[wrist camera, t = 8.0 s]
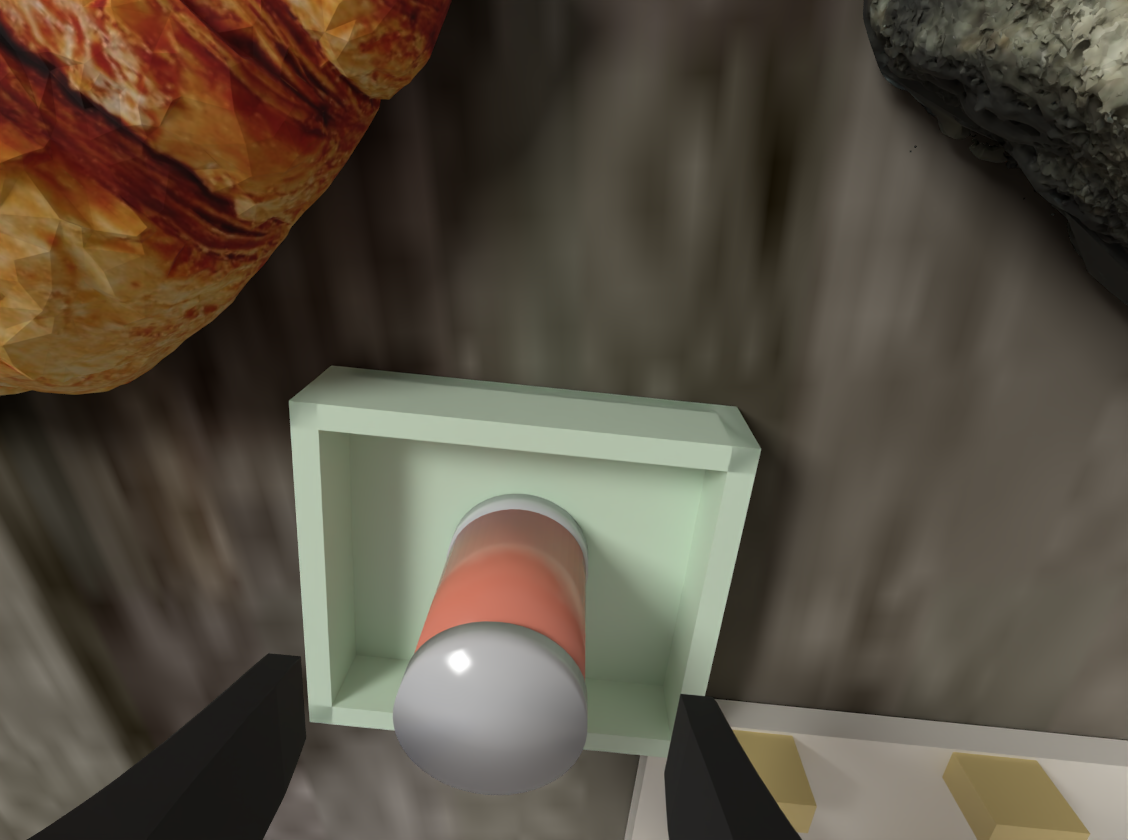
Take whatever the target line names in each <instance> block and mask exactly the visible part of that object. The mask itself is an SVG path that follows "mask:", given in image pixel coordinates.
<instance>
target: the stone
mask: <svg viewBox="0 0 1128 840" xmlns="http://www.w3.org/2000/svg"><path fill="white" fill-rule="evenodd" d="M863 18H864V23H865V27H866V30H867V34H868V38H869V41H870V44H871V46H872V49H873V52H874V55H875V58H876V61H877V63H878V66H879V69H880V71H881V73H882V74H883V76H884V77H885V79H886V80H887V81H889V82H890V83H891V84H893V85H894V86H895V87H897V88H900V89H902V90H906V91H909V92H910V93H911V95H912V96H913V97H914V98H915V99H916V100H917V101H918V102H919V103H920V104H922V105H923V106H924V107H925V109H926V110H927V112H928V113H929V114H931V115H932V116H936V117H937V119H938V123H939V127H940V130H941V132H942V134H944V135H947V136H949V137H951V138H954V139H963V138H966V137H968V135H969V136H971V133H970V130H972V131H974V132H977V133H979V134H981V135H983V136H986V137H988V138H990V139H992V140H995V141H997V142H998V143H999V144H1000V145H998V146H996V145H994V146H989V144H988V143H986V144H984V143H980V144H979V142H978V140H977V139H976V138H973V140H972V142H974V144H973V145H972V146H970V147H969V149H970V150H971V151H972V153H973V154H974V155H975V157H977V158H978V159H981V160H986V161H990V162H993V163H995V162H996V163H1002V162H1005V161H1007V160H1008V161H1007V163H1006V166H1007V168H1021V170H1022V171H1023V173H1024V174H1025V175H1026V177H1027V178H1028V180H1029V181H1030V183H1031V184H1032V186H1033V187H1034V191H1035V192H1036V191H1037V192H1038V193H1039V194H1040V195H1041V196H1042V197H1044V198H1045V199H1046V200H1047V201H1048V202H1049V203H1051V206H1053V207H1054V208H1056V209H1057V210H1058V211H1059V212H1060V213H1061V214H1063V215H1064V216H1065V217H1066V218H1067V219H1068V223H1067V228H1068V232H1069V237H1070V240H1071V242H1072V245H1073V247H1074V249H1075V251H1076V252H1077V253H1078V254H1079V255H1080V257H1081V258H1082V259H1083V261H1084V263H1085V266H1086V269H1087V271H1088V272H1089V274H1090V275H1091V276H1092V277H1093V278H1095V279H1096V280H1097V281H1098V282H1100V283H1101V284H1102V285H1103V286H1104V287H1105V288H1106V289H1107V290H1108V291H1110V292H1111V293H1112V294H1113V295H1114V296H1116V297H1117V298H1118V299H1119V300H1121V301H1122V302H1123V303H1125V304H1127V305H1128V0H864V9H863ZM975 136H976V135H975ZM975 136H972V137H975ZM916 147H917V146H915V148H916ZM1005 150H1006V151H1007V152H1008V153H1009V154H1010V156H1006V154H1005V153H1004V151H1005ZM910 152H911V151H910ZM1016 161H1017V162H1016ZM1017 163H1018V164H1017ZM1024 199H1025V198H1024ZM1051 215H1054V213H1053V214H1051Z"/></svg>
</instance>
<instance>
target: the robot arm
mask: <svg viewBox="0 0 1128 840" xmlns="http://www.w3.org/2000/svg"><path fill="white" fill-rule="evenodd" d="M305 740H306V729H305V714H304V699H303V684H302V668H301V657H300V656H290V655H279V654H267V655H266V656H265V657H263V658H262V659H261V660H260V661H259V662H257V663H256V664H255V665H254V666H253V667H252V668H251V669H249V670H248V671H247V672H246V673H245V674H244V675H242V676H241V677H240V678H239V679H238V680H237V681H236V682H235V683H233V684H232V685H231V686H230V687H229V688H228V689H226V690H225V691H224V692H223V693H222V694H221V695H220V696H218V697H217V698H216V699H215V700H214V701H213V702H211V703H210V704H209V705H208V706H207V707H206V708H204V709H203V710H202V711H201V712H200V713H198V714H197V715H196V716H195V717H194V718H192V719H191V720H190V721H189V722H188V723H186V724H185V725H184V726H183V727H182V728H180V729H179V730H178V731H177V732H176V733H174V734H173V735H172V736H171V737H170V738H168V739H167V740H166V741H165V742H163V743H162V744H161V745H160V746H158V747H157V748H156V749H155V750H153V751H152V752H151V753H149V754H148V755H147V756H145V757H144V758H143V759H142V760H140V761H139V762H138V763H136V764H135V765H134V766H132V767H131V768H130V769H129V770H127V771H126V772H125V773H123V774H122V775H121V776H119V777H118V778H117V779H115V780H114V781H113V782H111V783H110V784H109V785H107V786H106V787H105V788H103V789H102V790H100V791H99V792H98V793H96V794H95V795H93V796H92V797H91V798H89V799H88V800H86V801H85V802H83V803H82V804H81V805H79V806H78V807H76V808H75V809H73V810H72V811H70V812H69V813H67V814H66V815H64V816H63V817H61V818H60V819H58V820H57V821H55V822H54V823H53V824H51V825H50V826H48V827H46V828H45V829H43V830H42V831H40V832H39V833H37V834H35V835H34V836H32V837H31V838H29V839H27V840H263V838H264V836H265V834H266V832H267V830H268V828H269V826H270V824H271V822H272V820H273V818H274V816H275V814H276V812H277V810H278V808H279V806H280V804H281V802H282V800H283V798H284V796H285V793H286V791H287V788H288V786H289V783H290V780H291V778H292V775H293V773H294V770H295V767H296V765H297V762H298V759H299V756H300V753H301V751H302V748H303V745H304V742H305ZM664 781H665V798H666V813H667V827H668V835H669V840H802V839H801V837H800V836H799V835H798V833H797V832H796V830H795V829H794V828H793V826H792V825H791V823H790V822H789V820H788V819H787V817H786V816H785V814H784V813H783V811H782V810H781V809H780V807H779V805H778V804H777V802H776V801H775V799H774V798H773V796H772V795H771V793H770V792H769V790H768V788H767V787H766V785H765V784H764V782H763V781H762V779H761V778H760V776H759V774H758V773H757V771H756V770H755V768H754V766H753V765H752V763H751V761H750V760H749V758H748V756H747V755H746V753H745V751H744V750H743V748H742V746H741V744H740V743H739V741H738V739H737V738H736V736H735V734H734V732H733V730H732V729H731V727H730V725H729V723H728V722H727V720H726V718H725V716H724V714H723V712H722V711H721V709H720V707H719V705H718V703H717V702H716V700H715V699H714V698H713V697H709V696H699V695H689V694H680V698H679V703H678V708H677V713H676V718H675V722H674V727H673V732H672V737H671V742H670V747H669V751H668V756H667V761H666V766H665V771H664Z"/></svg>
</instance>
